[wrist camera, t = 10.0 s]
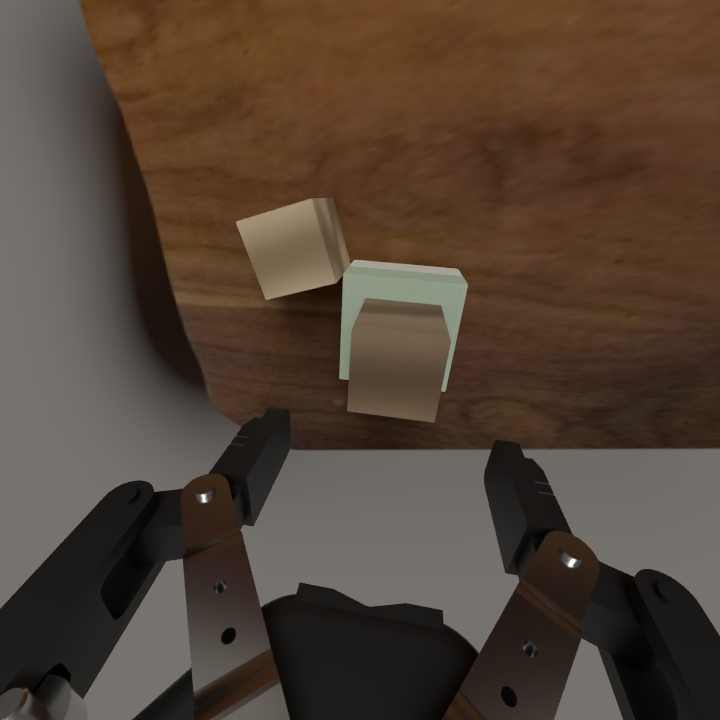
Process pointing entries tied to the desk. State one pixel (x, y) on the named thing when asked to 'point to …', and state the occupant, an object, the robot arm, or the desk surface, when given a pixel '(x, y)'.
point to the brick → (296, 247)
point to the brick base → (400, 297)
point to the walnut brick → (398, 359)
